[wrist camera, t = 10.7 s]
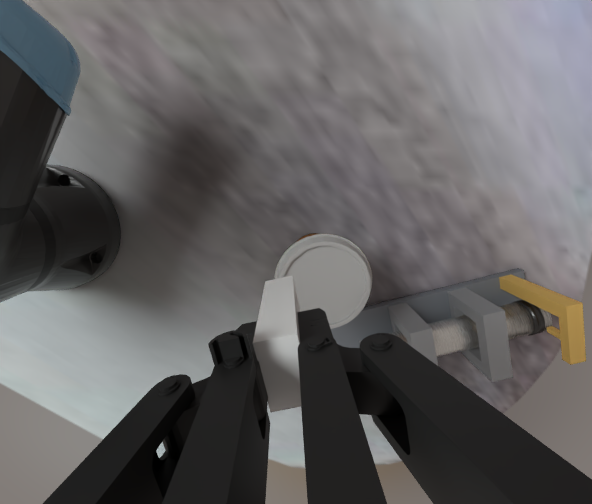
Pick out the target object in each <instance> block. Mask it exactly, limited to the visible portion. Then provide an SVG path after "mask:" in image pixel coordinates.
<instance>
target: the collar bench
mask: <svg viewBox="0 0 592 504" xmlns="http://www.w3.org/2000/svg"><path fill="white" fill-rule="evenodd" d="M522 299H523V300H525V301H527V302H529V303H531V304H533V305H535V306H537V307H539V308H541V309H543V310H545V311H547V312H549V313H551V314H553V315H555V316H557V317H559V326H560V330H559V329H557V328H555V327H553V326H550V327H547V332H548V333H550V334H552V335H553V336H555V337H557V338H559V339H560V340H561V350H562V360H564V361H566V362H567V363H569V364H570V365H571V364H576V363H580V362H584V361H586V353H585V336H584V322H583V321H584V320H583V304H582V303H581V302H579V301H576V300H574V299H571V298H569V297H566V296H564V295H561V294H559V293H556V292H554V291H551V290H549V289H546V288H544V287H541V286H539V285H536V284H534V283H531V282H529V281H526V280H525V275H524V270H522V269H519V268H518V269H514V270H510V271H506V272H502V273H498V274H494V275H490V276H486V277H482V278H478V279H474V280H470V281H466V282H462V283H458V284H454V285H450V286H446V287H442V288H438V289H434V290H430V291H426V292H423V293H419V294H415V295H411V296H407V297H403V298H399V299H395V300H391V301H387V302H383V303H379V304H375V305H371V306H367V307H364V308H363V309H362V311H361V312H360V313H359V314H358V315H357V316H356V317H355V318H354V319H353V320H351V321H350V322H348V323H347V324H344V325H342V326H340V327H336V328H332V329H331V332H332V335H333V338H334V339H335V340H336V343H337V344H338V345H341V346H343V347H348V348H360V342H359V341H360V340H363V339H364V338H365V337H367V336H369V335H373V334H376V333H388V334H389V333H393V332H397V331H401V332H402V334H403V335H404V336H405V338H406V339H407V342H408V344H409V345H410V346H411V347H413V348H414V349H415V350H417V351H418V352H420V353H421V354H422V355H424V356H425V357H426V358H428V359H429V360H430V361H432V362H433V363H434V364H436V365H437V366H438V361H437V356H436V350H435V345H434V339H433V333H432V328H431V327H430V326H429V325H428V324H429V323H433V322H437V321H441V320H445V319H449V318H453V317H457V316H461V315H466V316H468V317H469V318H470V319H472V320H473V321H474V322H476V327H477V334H478V341H479V347H476V348H472V349H468V350H464V351H460V352H461V353H462V354H463V355H464V356H465V357H466V358H467V359H468V360H469V361H470V362H471V363H472V364H473V365H475V366H476V367H477V368H478V369H479V370H480V371H481V372H482V373H483V374H484V375H485V376H486V377H487V378H488V379H489V380H490V381H491V382H497V381H501V380H505V379H509V378H513V373H512V365H511V356H510V348H509V340H508V332H507V324H506V315H505V310H504V309H502V308H500V307H498V306H502V305H506V304H510V303H512V302H514V301H518V300H522Z"/></svg>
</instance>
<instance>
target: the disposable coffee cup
mask: <svg viewBox="0 0 592 504" xmlns="http://www.w3.org/2000/svg"><path fill="white" fill-rule="evenodd" d="M288 276H293V279H294V284H295V289H296V293H297V298H298V303H299V307H300V312H301V311H306V310H311V309H316V308H320V309H322V310H324V311H325V312H326V316H327V319H328V322H329V325H330V329H332V328H336V327H340V326H342V325H344V324H347V323H348V322H350V321H351V320H353V319H354V318H355V317H356V316H357V315H358V314H359V313H360V312H361V311H362V309H363V308H364V306H365V304H366V303H367V300H368V298H369V296H370V293H371V288H372V271H371V267H370V264H369V262H368V260H367V258H366V256H365V254H364V253H363V252H362V251H361V250H360V248H359V247H357V246H356V245H355V244H354V243H352V242H351V241H349V240H347V239H345V238H343V237H341V236H337V235H332V234H316V233H314V234H308V235H305V236H303V237H301V238H300V239H299V240H297V242H296V243H294V244H293V245H291V246H290V247H289V248H288V249H287V250H286V251H285V253H284V254H283V255H282V257H281V259H280V261H279V262H278V264H277V267H276V271H275V275H274V279H278V278H283V277H288Z"/></svg>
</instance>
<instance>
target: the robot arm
mask: <svg viewBox="0 0 592 504" xmlns="http://www.w3.org/2000/svg"><path fill="white" fill-rule="evenodd" d="M79 75H80V61H79V58H78V55H77V53H76V51H75V49H74V48H73V46H72V45H71V44H70V42H69V41H68V40H67V39H66V38H65V37H64V36H63V35H62V34H61V33H60V32H59V31H58V30H57V29H56V28H55V27H53V26H52V25H51V24H50V23H49V22H48V21H47V20H45V19H44V18H43V17H42V16H41V15H40V14H38V13H37V12H36V11H35V10H33V9H32V8H31V7H30V6H29V5H27V4H26V3H25V2H24V1H22V0H0V302H2V301H5V300H7V299H10V298H12V297H14V296H17V295H19V294H22V293H24V292H27V291H50V290H65V289H70V288H74V287H77V286H80V285H82V284H84V283H87V282H89V281H91V280H93V279H95V278H97V277H98V276H100V275H101V274H102V273H103V272H105V271H106V270H107V269H108V267H109V266H110V265H111V264H112V262H113V260H114V259H115V257H116V254H117V252H118V248H119V244H120V224H119V220H118V216H117V213H116V211H115V208H114V206H113V204H112V203H111V201H110V199H109V198H108V196H107V195H106V194H105V192H104V191H103V190H102V189H101V188H100V187H99V186H98V185H97V184H96V183H95V182H94V181H92V180H91V179H90V178H88V177H87V176H85V175H83V174H82V173H80V172H77V171H75V170H73V169H70V168H67V167H63V166H57V165H46V164H47V162H48V159H49V157H50V154H51V152H52V150H53V147H54V145H55V142H56V140H57V138H58V135H59V133H60V130H61V128H62V126H63V123H64V121H65V118H66V116H67V115H68V116H69V115H70V113H71V108H70V103H71V100H72V96H73V93H74V90H75V87H76V84H77V81H78V78H79ZM208 345H209V348H210V352H211V355H212V358H213V362H214V365H215V367H214V369H213V372H212V374H211V376H210V377H208V378H206V379H204V380H201V381H199V382H196V383H193V384H192V382H191V379H190V377H189V376H187V375H173V376H170V377H167V378H165V379H164V380H163V381H161V382H159V383H157V384H156V385H155V386H154V387H153V388H152V389H151V390H150V391H149V392H148V393H147V394H146V395H145V396H144V397H143V398H142V399H141V400H140V401H139V402H138V403H137V404H136V406H135V407H134V408H133V409H132V410H131V411H130V412H129V413H128V414H127V415H126V416H125V417H124V418H123V419H122V420H121V421H120V422H119V424H118V425H117V426H116V427H115V428H114V429H113V430H112V431H111V432H110V433H109V434H108V435H107V436H106V437H105V438H104V439H103V440H102V442H101V443H100V444H99V445H98V446H97V447H96V448H95V449H94V450H93V451H92V452H91V453H90V454H89V455H88V456H87V457H86V458H85V460H84V461H83V462H82V463H81V464H80V465H79V466H78V467H77V468H76V469H75V470H74V471H73V472H72V473H71V475H70V476H68V477H67V479H66V480H65V481H64V482H63V483H62V484H61V485H60V486H59V487H58V488H57V489H56V490H55V491H54V492H53V493H52V494H51V496H50V497H49V498H48V499H47V500H46V501H45V502H44V503H43V504H265V497H266V480H267V465H268V449H269V432H270V421H269V416H268V413H267V402H268V404H269V408H270V412H275V411H280V410H285V409H290V408H295V407H300V406H301V408H302V423H303V438H304V452H305V467H306V482H307V497H308V504H387V502H386V499H385V496H384V492H383V489H382V486H381V483H380V480H379V477H378V473H377V470H376V467H375V464H374V461H373V457H372V454H371V451H370V448H369V445H368V441H367V438H366V435H365V432H364V429H363V426H362V422H361V419H360V416H359V414H367V415H371V416H372V418H373V421H374V423H375V424H376V425H377V427H378V428H379V430H380V431H381V432H382V434H383V435H384V436H385V438H386V439H387V440H388V442H389V443H390V445H391V446H392V447H393V449H394V450H395V451H396V453H397V454H398V456H399V457H400V458H401V460H402V461H403V462H404V464H405V465H406V466H407V468H408V469H409V470H410V472H411V473H412V475H413V476H414V478H415V479H416V480H417V482H418V483H419V484H420V486H421V487H422V489H423V490H424V491H425V493H426V494H427V495H428V497H429V498H430V499H431V501H432V502H433V504H592V479H590V478H589V477H587V476H586V475H585V474H583V473H582V472H581V471H579V470H578V469H577V468H575V467H574V466H573V465H571V464H570V463H568V462H567V461H566V460H564V459H563V458H562V457H560V456H559V455H558V454H556V453H555V452H554V451H552V450H551V449H550V448H548V447H547V446H545V445H544V444H543V443H541V442H540V441H539V440H537V439H536V438H535V437H533V436H532V435H530V434H529V433H528V432H527V431H525V430H524V429H522V428H521V427H520V426H518V425H517V424H515V423H514V422H513V421H512V420H510V419H509V418H508V417H506V416H505V415H504V414H502V413H501V412H499V411H498V410H497V409H495V408H494V407H493V406H491V405H490V404H489V403H487V402H486V401H485V400H483V399H482V398H480V397H479V396H478V395H476V394H475V393H474V392H472V391H471V390H470V389H468V388H467V387H466V386H464V385H463V384H462V383H460V382H459V381H457V380H456V379H455V378H453V377H452V376H451V375H449V374H448V373H447V372H445V371H444V370H443V369H441V368H440V367H439V366H437V365H436V364H434V363H433V362H432V361H430V360H429V359H428V358H426V357H425V356H424V355H422V354H421V353H420V352H418V351H417V350H415V349H414V348H413V347H411V346H410V345H409V344H407V343H406V342H405V341H403V340H402V339H401V338H399V337H397V336H395V335H393V334H388V333H376V334H373V335H369V336H367V337H365V338H364V339H363V340H362V341H361V342H360V348H348V347H343V346H341V345H338V344H337V343H336V340H335V339H334V338H333V335H332V332H331V329H330V325H329V322H328V319H327V316H326V312H325V311H324V310H322V309H320V308H316V309H311V310H306V311H301V312H300V307H299V303H298V298H297V293H296V289H295V284H294V279H293V276H288V277H283V278H278V279H273V280H268V281H265V286H264V291H263V295H262V300H261V305H260V310H259V315H258V320H257V321H256V322H251V323H246V324H242V325H241V326H240V327H239V328H238V329H237V330H235V331H229V332H226V333H223V334H221V335H219V336H217V337H215V338H214V339H213V340H211V342H210V343H209V344H208ZM162 441H163V444H164V447H165V450H166V451H165V453H164V454H163V455H162V456H161V457H160V458H159V457H158V455H157V453H156V450H157V448H158V447H159V445H160V444H161V443H162Z"/></svg>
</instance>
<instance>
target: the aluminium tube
mask: <svg viewBox="0 0 592 504" xmlns="http://www.w3.org/2000/svg"><path fill="white" fill-rule="evenodd" d="M498 307H500V308H502V309H504V310H505V315H506V324H507V332H508V340H509V339H513V338H517V337H521V336H525V335H533V334H537V333H541V332H543V331H546V330H547V327H550V326H552V317H551V314H550V313H549V312H547V311H545V310H543V309H541V308H539V307H537V306H535V305H533V304H531V303H529V302H527V301H525V300H523V299H522V300H518V301H514V302H512V303H510V304H506V305H502V306H498ZM428 325H429V326H430V327H431V328H432V333H433V339H434V345H435V350H436V356H437V357H439V356H443V355H447V354H451V353H456V352H460V351H464V350H468V349H472V348H476V347H479V341H478V334H477V327H476V322H474V321H473V320H472V319H470V318H469V317H468V316H466V315H461V316H457V317H453V318H449V319H445V320H441V321H437V322H433V323H429V324H428ZM389 334H393V335H395V336H397V337H399V338H401V339H402V340H403V341H405V342H406V343H407V344H408V342H407V339H406V338H405V336H404V335H403V334H402V332H401V331H397V332H393V333H389ZM361 341H362V340H360V341H359V342H361Z"/></svg>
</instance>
